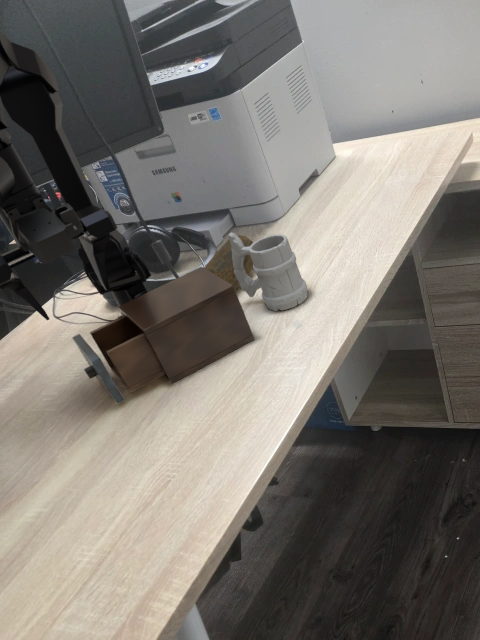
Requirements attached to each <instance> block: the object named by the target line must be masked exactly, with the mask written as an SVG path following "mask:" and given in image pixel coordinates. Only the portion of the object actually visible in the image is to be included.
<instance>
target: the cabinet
mask: <svg viewBox="0 0 480 640" xmlns="http://www.w3.org/2000/svg"><path fill="white" fill-rule="evenodd" d="M204 268H205V267H202V266H200V267H197V268H195V269H193V270H191V271H189V272H187V273H185V274H183V275H180V276H179V277H177V278H175V279H172V280H171V281H168V282H166V283H165V284H162V285H159V286H158V287H156V288H154V289H152V290H150V291H148V293H146V294H144V295H142V296H139V297H137V298H135V299H133V300H131V301H129V302H127V303H125V304H123V305H121V306H118V307H117V308H118V310H119V311H120V313H121V315H123V316H124V315H125V316H126V317H127V318H128V319H129V320H130V321H132V322H133V323H134V324H135V325H136V326H137V327H138V328H139V329H140V330H141V331H142V332H143V333H145V336H146V338H147V339H148V341H149V343H150V345H151V347H152V349H153V351H154V353H155V355H156V357H157V358H158V360H159V362H160V364H161V366H162V368H163V370H164V372H165V375H163V376H162V377H164V378H165V379H166V380H167V381H168V382H169V383H170V384H174V383H176V382H178V381H180V380H181V379H184V378H185V377H188V376H190V375H191V374H193V373H195V372H197V371H198V370H199V371H200V369H202V368H205V367H206V366H208V365H210V364H211V363H214V362H216V361H217V360H219V359H221V358H223V357H225V356H227V355H229V354H230V353H232V352H234V351H236V350H238V349H239V348H241V347H244V346H245V345H247V344H249V343H251V342H252V341H254V340H255V337H254V334H253V332H252V329H251V326H250V324H249V322H248V319H247V317H246V314H245V311H244V309H243V306H242V304H241V301H240V299H239V297H238V294H237V291H236V290H235V289H234V286H233V285H231V284H230V283H228V282H226V281H225V280H223V279H221V278H219V277H218V276H216V275H214V274H213V273H211V272H209V271H208V270H206V269H204Z"/></svg>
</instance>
